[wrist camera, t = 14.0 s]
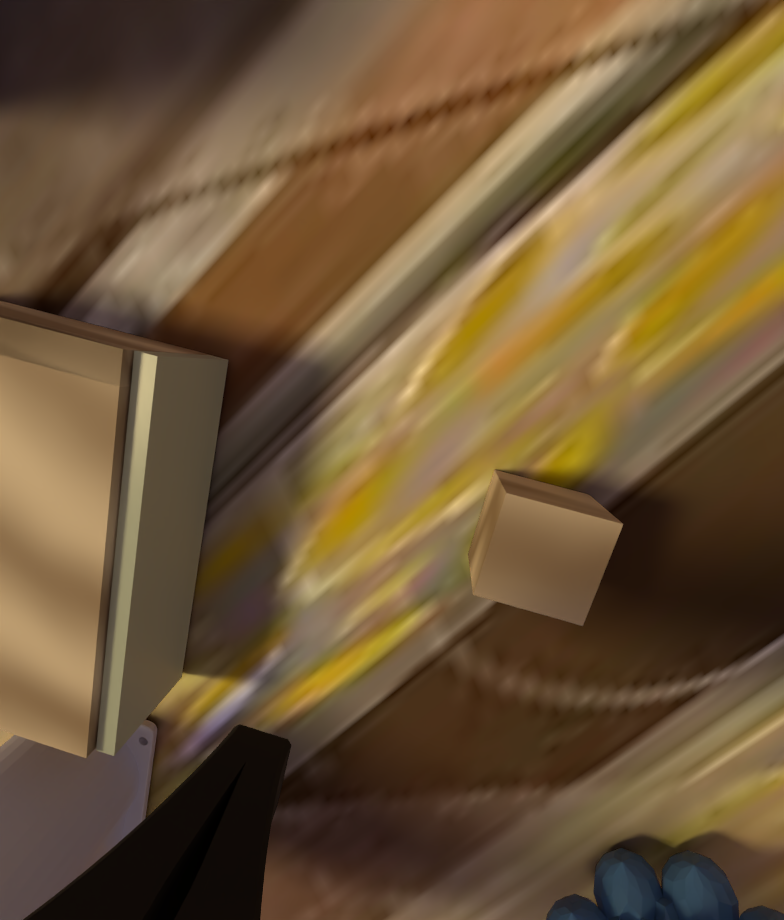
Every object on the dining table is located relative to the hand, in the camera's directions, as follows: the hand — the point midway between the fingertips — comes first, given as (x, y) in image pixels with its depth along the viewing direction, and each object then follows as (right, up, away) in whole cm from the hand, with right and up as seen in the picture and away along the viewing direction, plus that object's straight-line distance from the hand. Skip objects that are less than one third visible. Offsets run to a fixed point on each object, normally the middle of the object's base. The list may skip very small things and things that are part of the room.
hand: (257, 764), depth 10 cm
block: (+9, +4, +8) cm, 13 cm away
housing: (-12, +5, +10) cm, 17 cm away
